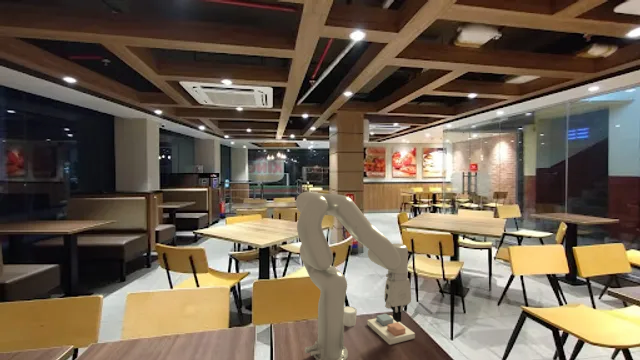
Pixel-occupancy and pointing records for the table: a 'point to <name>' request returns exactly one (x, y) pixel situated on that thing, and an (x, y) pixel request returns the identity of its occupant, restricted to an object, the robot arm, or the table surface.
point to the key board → (389, 336)
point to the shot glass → (349, 316)
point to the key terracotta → (396, 329)
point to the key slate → (384, 319)
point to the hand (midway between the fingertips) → (396, 320)
